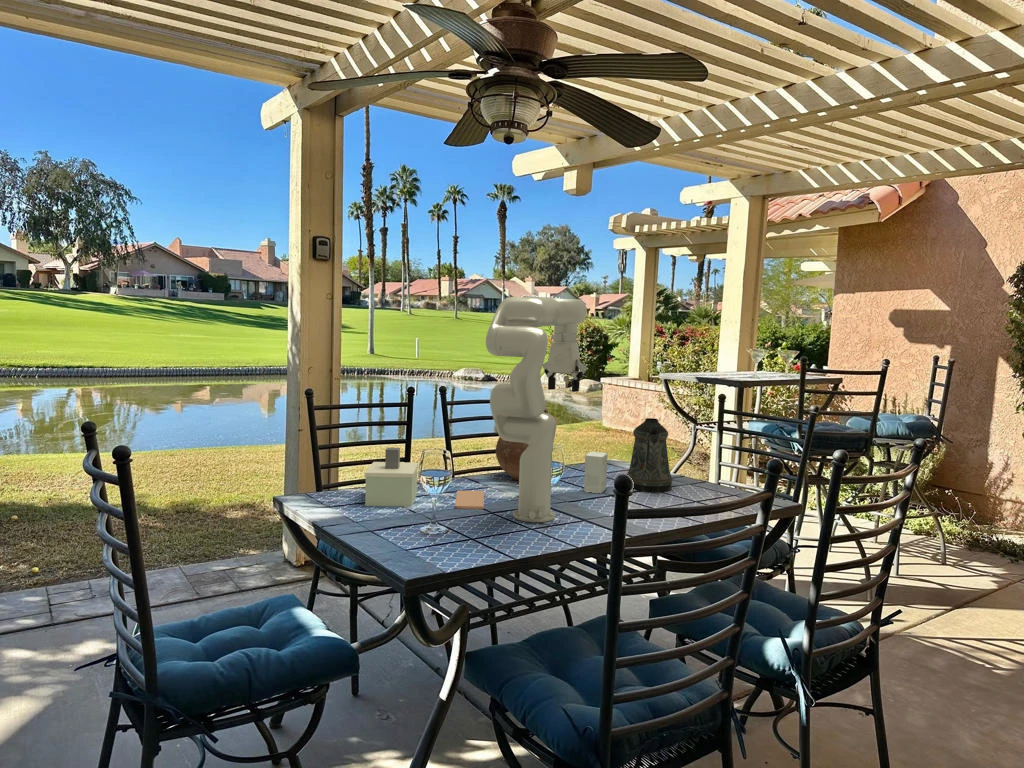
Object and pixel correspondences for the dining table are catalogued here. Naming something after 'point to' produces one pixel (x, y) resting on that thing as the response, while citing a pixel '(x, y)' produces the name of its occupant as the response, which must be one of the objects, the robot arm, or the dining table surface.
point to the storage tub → (391, 491)
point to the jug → (511, 455)
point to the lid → (391, 466)
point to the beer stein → (650, 458)
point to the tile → (469, 500)
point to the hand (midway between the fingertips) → (563, 390)
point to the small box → (595, 472)
